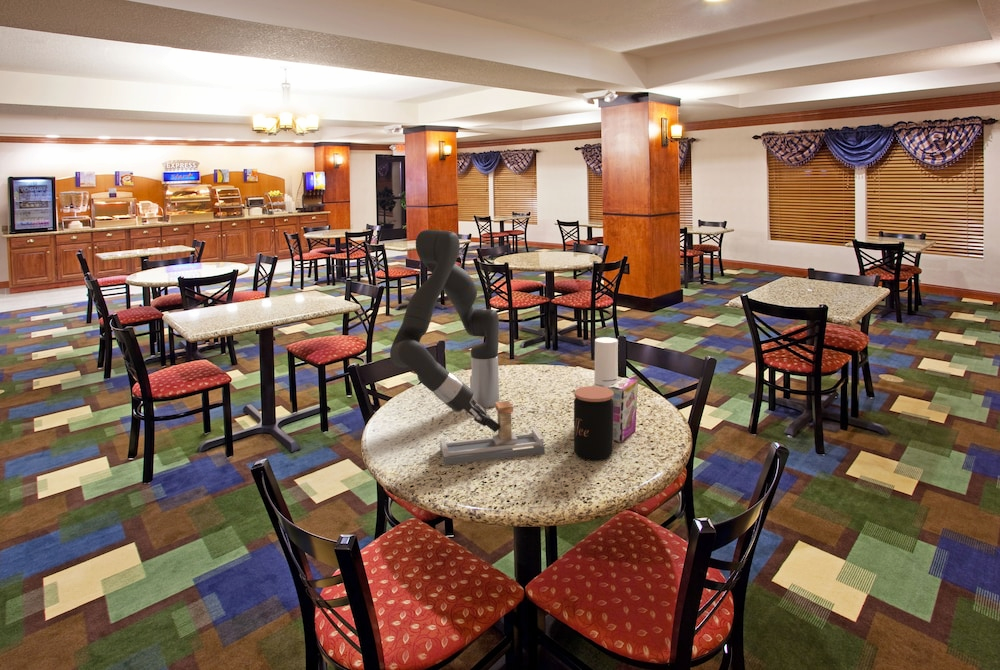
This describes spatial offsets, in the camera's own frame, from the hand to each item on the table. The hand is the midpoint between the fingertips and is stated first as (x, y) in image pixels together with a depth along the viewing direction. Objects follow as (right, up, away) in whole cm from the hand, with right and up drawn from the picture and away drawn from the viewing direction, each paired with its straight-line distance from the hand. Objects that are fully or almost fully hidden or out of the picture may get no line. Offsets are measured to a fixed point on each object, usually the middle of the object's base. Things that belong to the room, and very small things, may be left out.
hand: (497, 428), depth 169 cm
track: (-2, -7, +1) cm, 7 cm away
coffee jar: (+27, -7, -2) cm, 28 cm away
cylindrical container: (+35, 0, +27) cm, 44 cm away
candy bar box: (+37, -4, +10) cm, 39 cm away
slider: (+2, -4, +1) cm, 5 cm away
